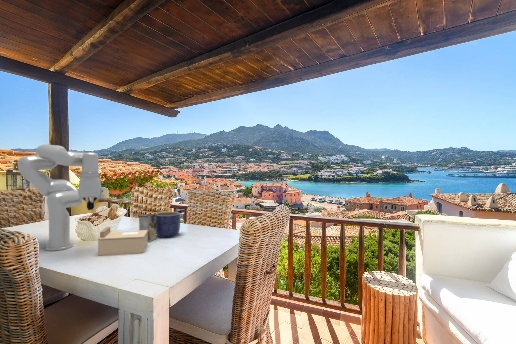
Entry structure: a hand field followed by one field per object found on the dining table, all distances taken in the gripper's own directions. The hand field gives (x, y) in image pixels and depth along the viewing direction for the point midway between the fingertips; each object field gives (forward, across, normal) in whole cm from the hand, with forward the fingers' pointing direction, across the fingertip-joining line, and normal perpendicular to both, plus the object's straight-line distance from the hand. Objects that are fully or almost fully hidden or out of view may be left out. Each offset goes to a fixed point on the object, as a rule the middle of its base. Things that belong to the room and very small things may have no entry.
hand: (90, 209), depth 148 cm
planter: (+23, +38, +28) cm, 53 cm away
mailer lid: (+15, +17, 0) cm, 22 cm away
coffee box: (+23, +26, +18) cm, 40 cm away
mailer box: (+23, +17, 0) cm, 28 cm away
